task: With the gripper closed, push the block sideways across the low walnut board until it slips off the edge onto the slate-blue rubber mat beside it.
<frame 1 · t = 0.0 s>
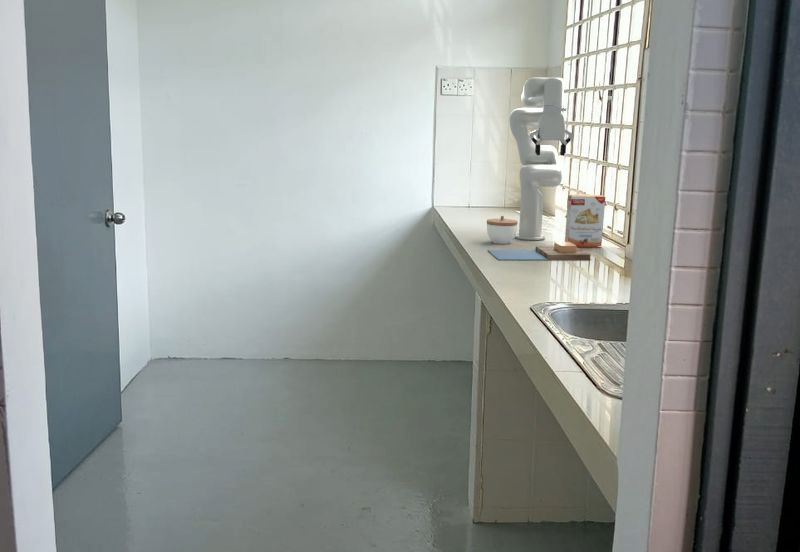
hand: (550, 155, 313), 37 cm above the table, tool pointing down, fingers open, 9 cm apart
block: (565, 247, 304), point 3 cm above the table, touching board
mat: (516, 255, 303), on the table
lidded bowl: (501, 242, 332), on the table
board: (562, 255, 304), on the table
cracker box: (583, 246, 326), on the table
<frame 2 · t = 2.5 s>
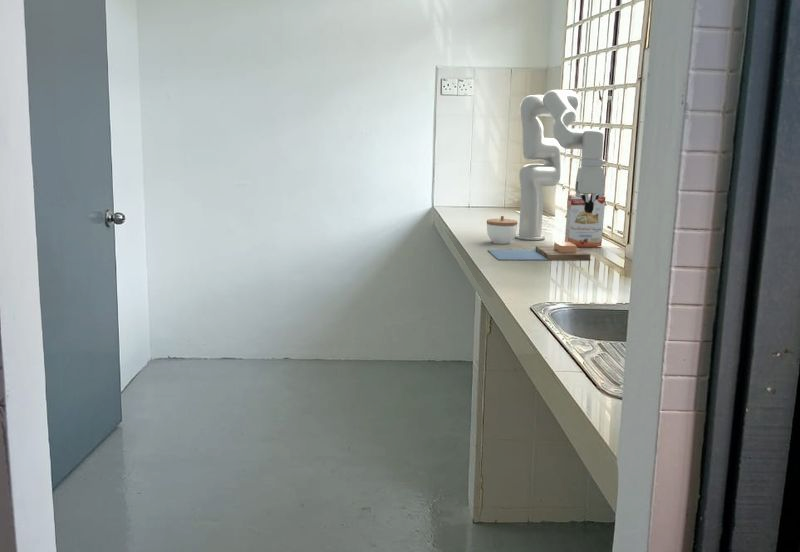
hand: (588, 212, 302), 17 cm above the table, tool pointing down, fingers closed
nothing on the table moved.
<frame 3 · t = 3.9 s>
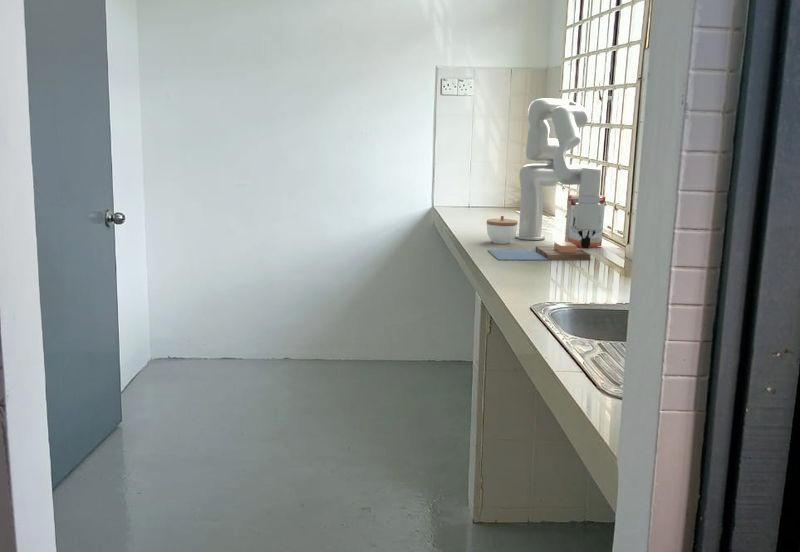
hand: (585, 248, 305), 3 cm above the table, tool pointing down, fingers closed
nothing on the table moved.
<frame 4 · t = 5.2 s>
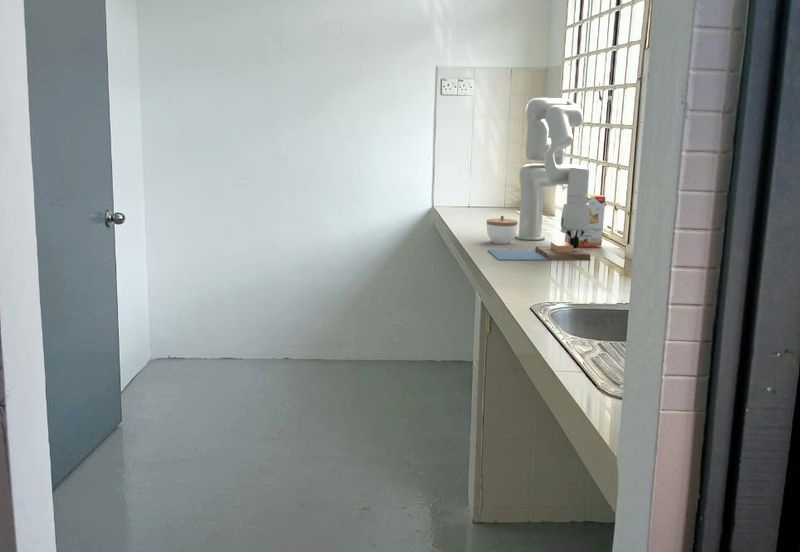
hand: (573, 247, 304), 3 cm above the table, tool pointing down, fingers closed
block: (561, 247, 304), point 3 cm above the table, touching board, gripper
everything else where it was.
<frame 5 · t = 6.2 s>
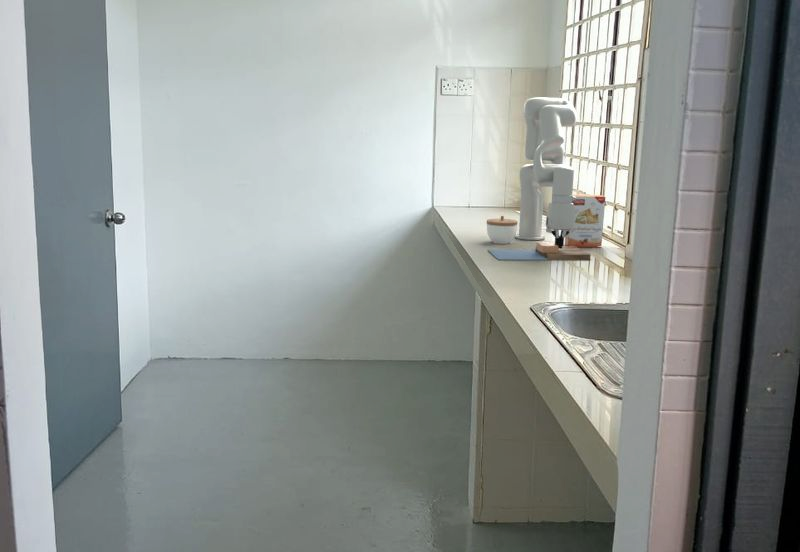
hand: (558, 247, 304), 3 cm above the table, tool pointing down, fingers closed
block: (547, 247, 303), point 3 cm above the table, touching board, gripper
everything else where it was.
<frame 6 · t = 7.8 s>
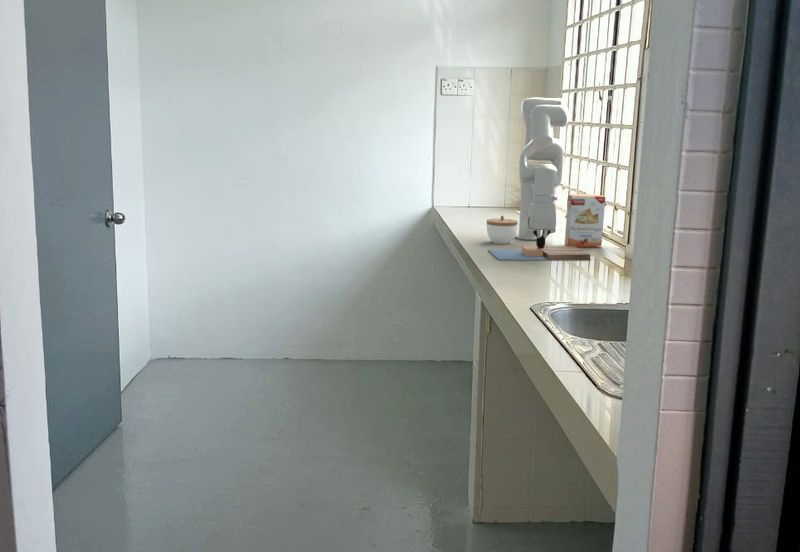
hand: (540, 247, 303), 3 cm above the table, tool pointing down, fingers closed
block: (532, 251, 303), point 2 cm above the table, touching mat
everything else where it was.
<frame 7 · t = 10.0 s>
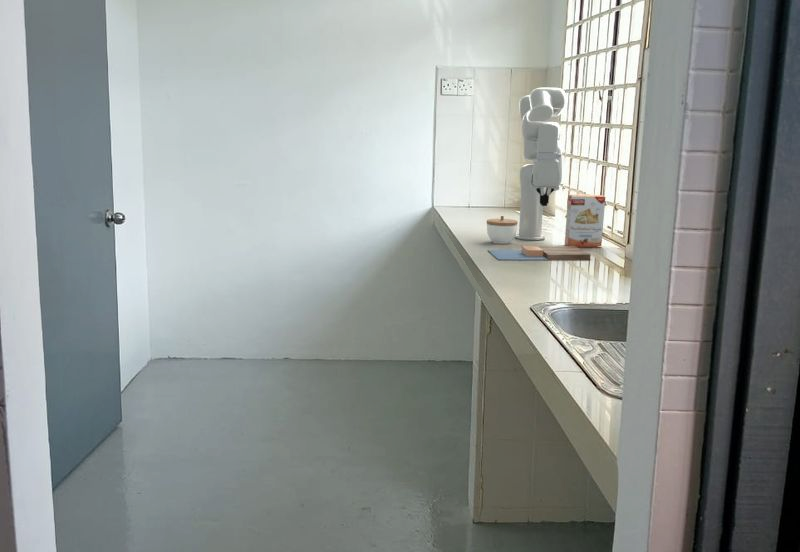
hand: (543, 205, 303), 19 cm above the table, tool pointing down, fingers closed
nothing on the table moved.
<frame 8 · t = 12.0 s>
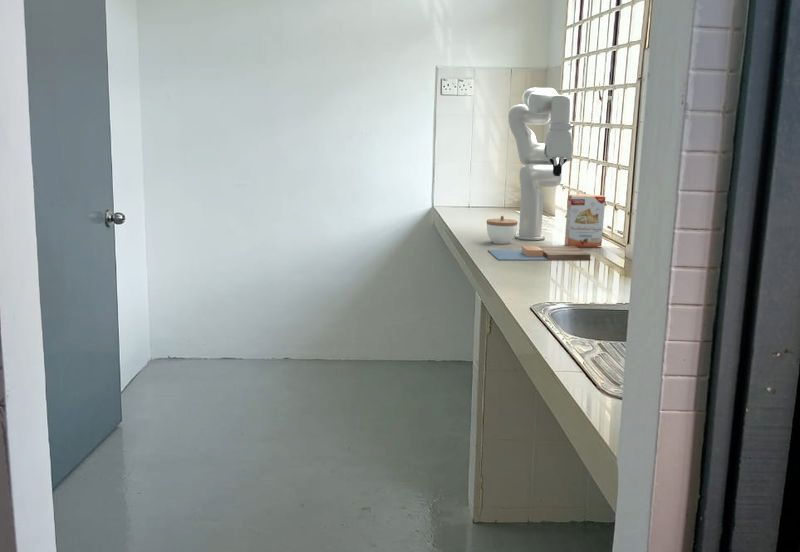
hand: (556, 175, 311), 29 cm above the table, tool pointing down, fingers closed
nothing on the table moved.
at the end: block inside the target area on the mat (5.7 cm from its centre), point 1.6 cm above the mat's base; block touching mat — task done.
